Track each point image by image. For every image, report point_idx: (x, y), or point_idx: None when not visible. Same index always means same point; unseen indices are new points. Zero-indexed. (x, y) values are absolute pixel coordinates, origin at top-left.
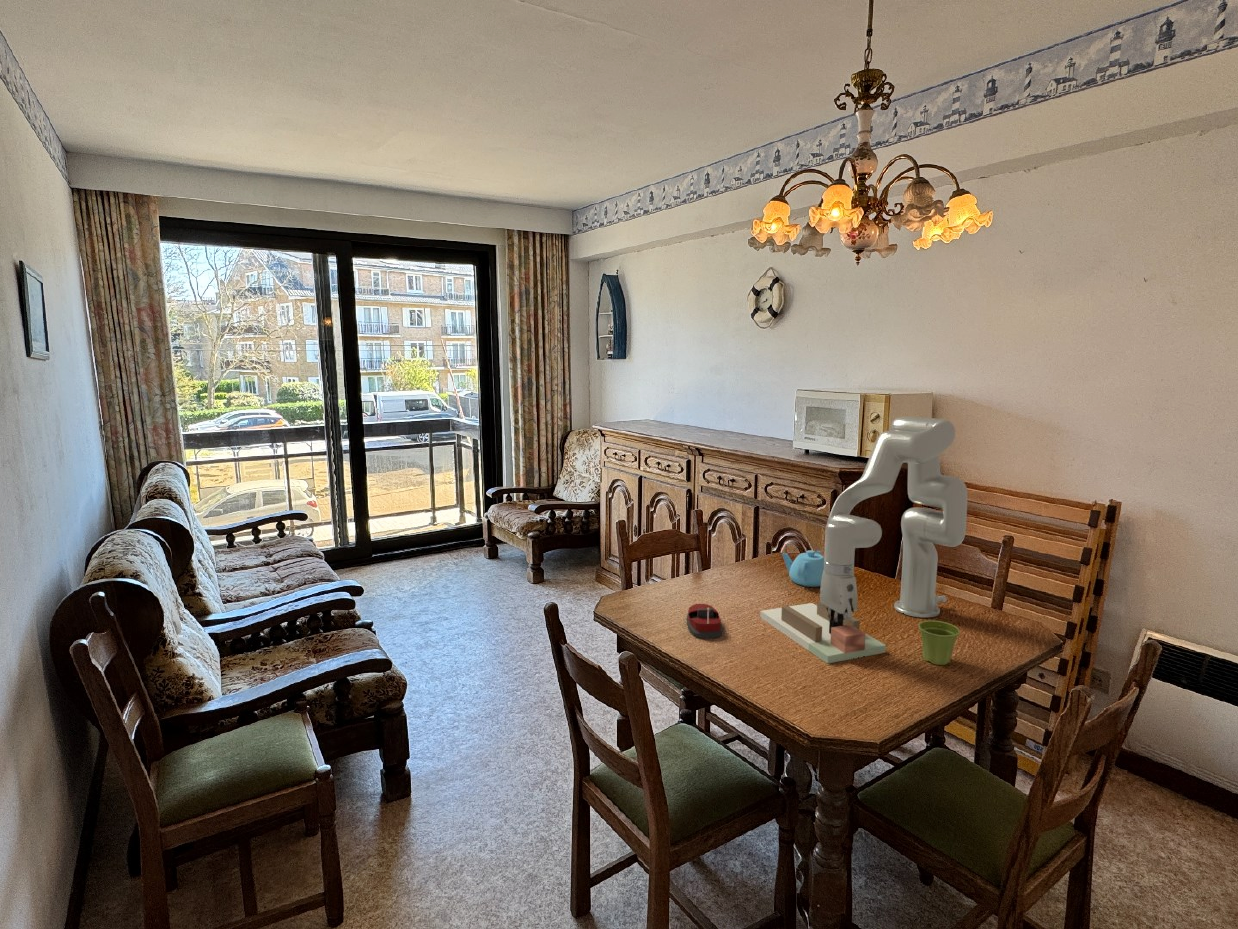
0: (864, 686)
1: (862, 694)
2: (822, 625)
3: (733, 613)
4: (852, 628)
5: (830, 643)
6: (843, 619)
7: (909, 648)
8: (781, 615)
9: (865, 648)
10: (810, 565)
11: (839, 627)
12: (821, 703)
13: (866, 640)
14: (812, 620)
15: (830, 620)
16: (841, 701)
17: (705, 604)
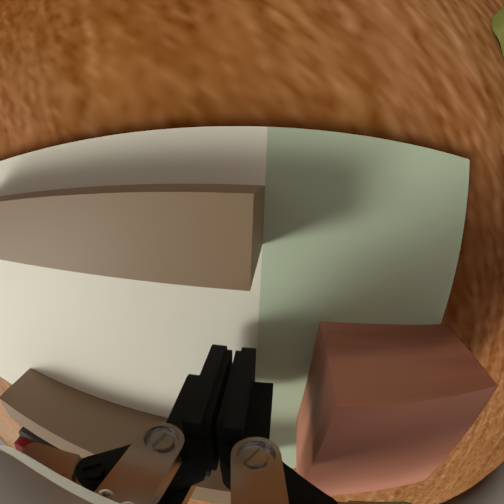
0: (495, 406)
1: (498, 421)
2: (79, 306)
3: (4, 388)
4: (401, 429)
5: (296, 422)
6: (297, 482)
7: (433, 22)
8: (11, 359)
9: (440, 308)
10: None
11: (327, 476)
12: (447, 480)
13: (375, 216)
14: (33, 301)
15: (207, 474)
16: (472, 457)
17: (18, 450)
